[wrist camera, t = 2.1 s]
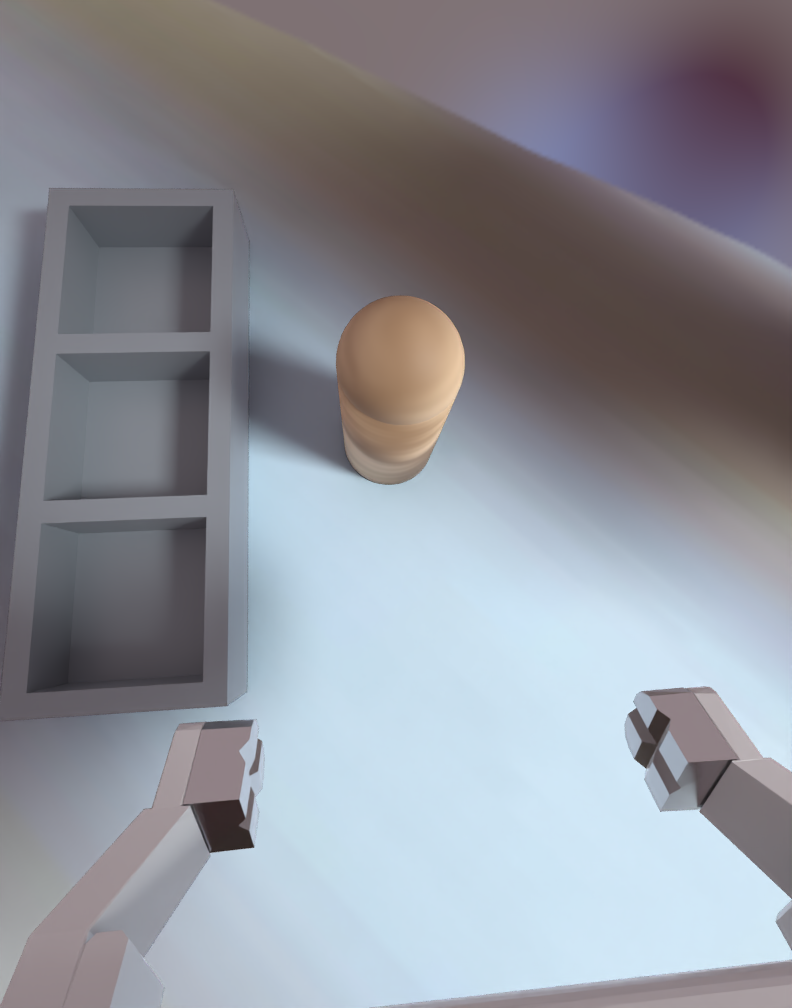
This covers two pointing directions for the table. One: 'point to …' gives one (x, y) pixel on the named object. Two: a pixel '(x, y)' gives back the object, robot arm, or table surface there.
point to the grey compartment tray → (134, 460)
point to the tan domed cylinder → (396, 385)
